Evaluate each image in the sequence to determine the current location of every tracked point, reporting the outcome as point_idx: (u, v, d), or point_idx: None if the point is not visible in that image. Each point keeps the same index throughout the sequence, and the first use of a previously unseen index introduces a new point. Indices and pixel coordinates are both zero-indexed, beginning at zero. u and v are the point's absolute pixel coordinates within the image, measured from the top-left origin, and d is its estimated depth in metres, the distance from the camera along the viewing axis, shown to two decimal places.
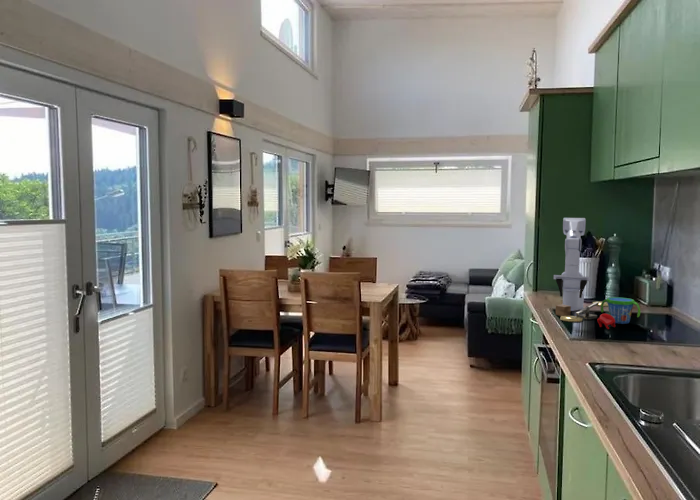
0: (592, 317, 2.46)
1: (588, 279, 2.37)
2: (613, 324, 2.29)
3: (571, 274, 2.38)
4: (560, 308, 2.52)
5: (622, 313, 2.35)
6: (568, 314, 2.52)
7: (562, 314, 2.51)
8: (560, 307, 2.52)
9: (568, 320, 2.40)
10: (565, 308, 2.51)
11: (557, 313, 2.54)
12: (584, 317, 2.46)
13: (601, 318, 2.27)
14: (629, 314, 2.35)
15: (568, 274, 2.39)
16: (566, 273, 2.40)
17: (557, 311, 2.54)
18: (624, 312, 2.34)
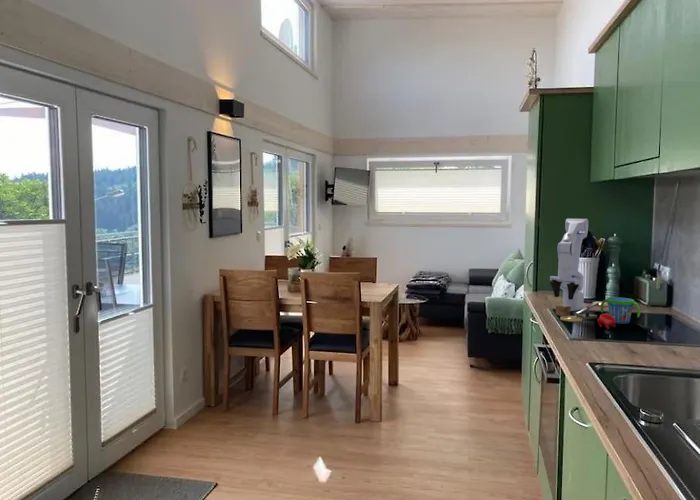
0: (592, 317, 2.46)
1: (575, 282, 2.46)
2: (613, 324, 2.29)
3: (560, 277, 2.51)
4: (560, 308, 2.52)
5: (622, 313, 2.35)
6: (568, 314, 2.52)
7: (562, 314, 2.51)
8: (560, 307, 2.52)
9: (568, 320, 2.40)
10: (565, 308, 2.51)
11: (557, 313, 2.54)
12: (584, 317, 2.46)
13: (601, 318, 2.27)
14: (629, 314, 2.35)
15: (558, 276, 2.52)
16: (558, 275, 2.53)
17: (557, 311, 2.54)
18: (624, 312, 2.34)
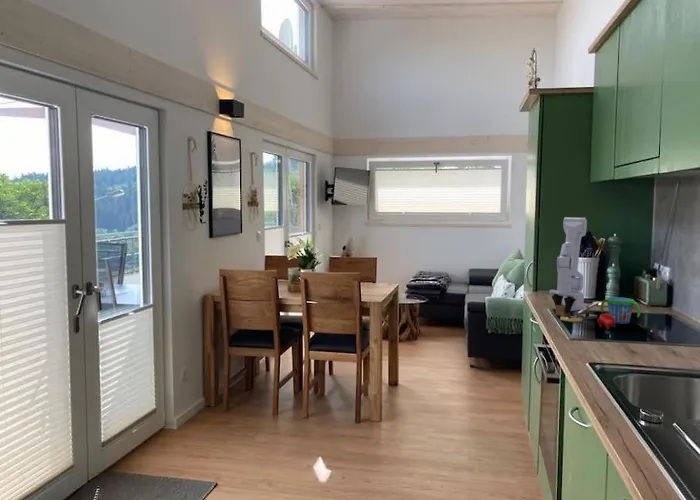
0: (592, 317, 2.46)
1: (574, 297, 2.47)
2: (613, 324, 2.29)
3: (559, 291, 2.51)
4: (560, 308, 2.52)
5: (622, 313, 2.35)
6: (568, 314, 2.52)
7: (562, 314, 2.51)
8: (560, 307, 2.52)
9: (568, 320, 2.40)
10: None
11: (557, 313, 2.54)
12: (584, 317, 2.46)
13: (601, 318, 2.27)
14: (629, 314, 2.35)
15: (558, 291, 2.53)
16: (557, 289, 2.54)
17: (557, 311, 2.54)
18: (624, 312, 2.34)
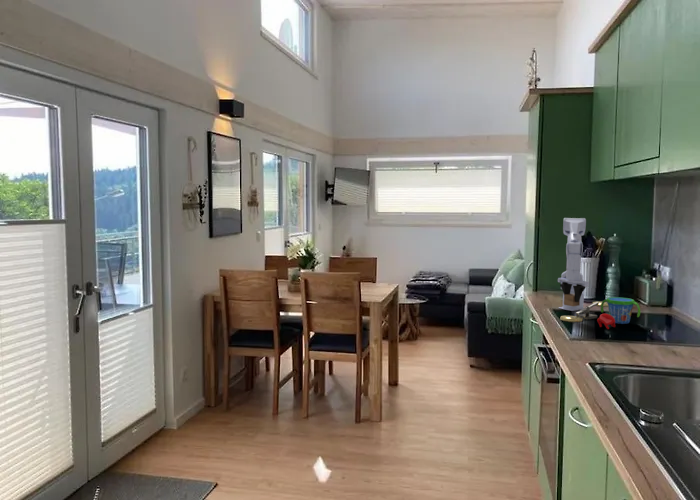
0: (592, 317, 2.46)
1: (584, 284, 2.36)
2: (613, 324, 2.29)
3: (568, 279, 2.40)
4: (569, 297, 2.41)
5: (622, 313, 2.35)
6: (577, 304, 2.41)
7: (571, 304, 2.40)
8: (569, 296, 2.41)
9: (568, 320, 2.40)
10: (574, 297, 2.40)
11: (566, 303, 2.43)
12: (584, 317, 2.46)
13: (601, 318, 2.27)
14: (629, 314, 2.35)
15: (566, 278, 2.42)
16: (566, 277, 2.43)
17: (566, 300, 2.43)
18: (624, 312, 2.34)
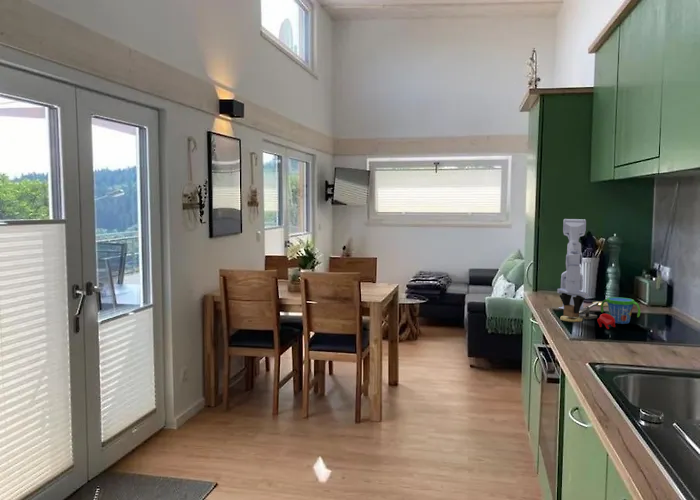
0: (592, 317, 2.46)
1: (584, 296, 2.36)
2: (613, 324, 2.29)
3: (568, 290, 2.41)
4: (568, 308, 2.41)
5: (622, 313, 2.35)
6: (577, 315, 2.42)
7: (570, 315, 2.41)
8: (568, 307, 2.41)
9: (568, 320, 2.40)
10: None
11: (565, 314, 2.43)
12: (584, 317, 2.46)
13: (601, 318, 2.27)
14: (629, 314, 2.35)
15: (566, 289, 2.42)
16: (565, 288, 2.43)
17: (565, 311, 2.43)
18: (624, 312, 2.34)
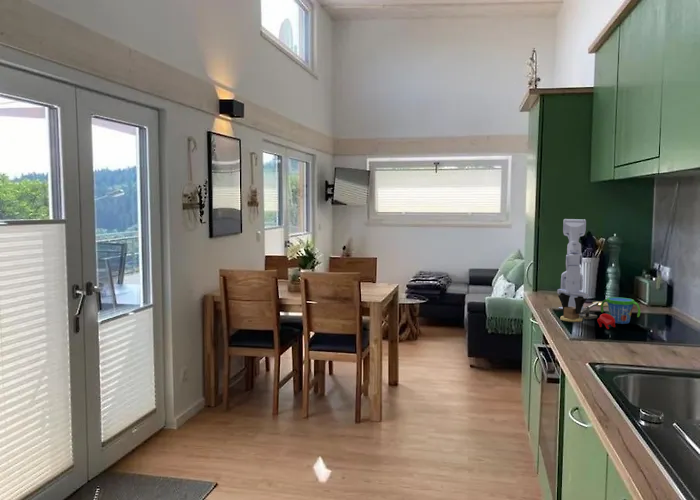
0: (592, 317, 2.46)
1: (584, 296, 2.36)
2: (613, 324, 2.29)
3: (568, 290, 2.41)
4: (568, 310, 2.42)
5: (622, 313, 2.35)
6: (577, 316, 2.42)
7: (570, 316, 2.41)
8: (568, 309, 2.41)
9: (568, 320, 2.40)
10: (574, 310, 2.40)
11: (565, 315, 2.43)
12: (584, 317, 2.46)
13: (601, 318, 2.27)
14: (629, 314, 2.35)
15: (566, 290, 2.42)
16: (565, 289, 2.43)
17: (565, 313, 2.43)
18: (624, 312, 2.34)
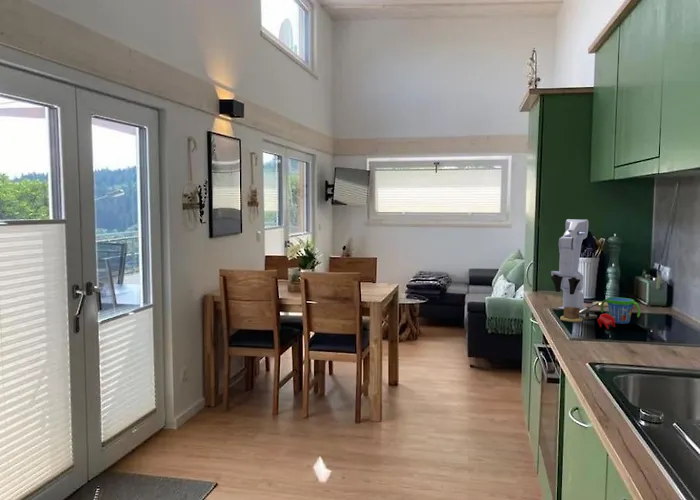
0: (592, 317, 2.46)
1: (576, 277, 2.46)
2: (613, 324, 2.29)
3: (561, 272, 2.51)
4: (568, 310, 2.42)
5: (622, 313, 2.35)
6: (577, 316, 2.42)
7: (570, 316, 2.41)
8: (568, 309, 2.41)
9: (568, 320, 2.40)
10: (574, 310, 2.40)
11: (565, 315, 2.43)
12: (584, 317, 2.46)
13: (601, 318, 2.27)
14: (629, 314, 2.35)
15: (559, 272, 2.52)
16: (559, 270, 2.53)
17: (565, 313, 2.43)
18: (624, 312, 2.34)
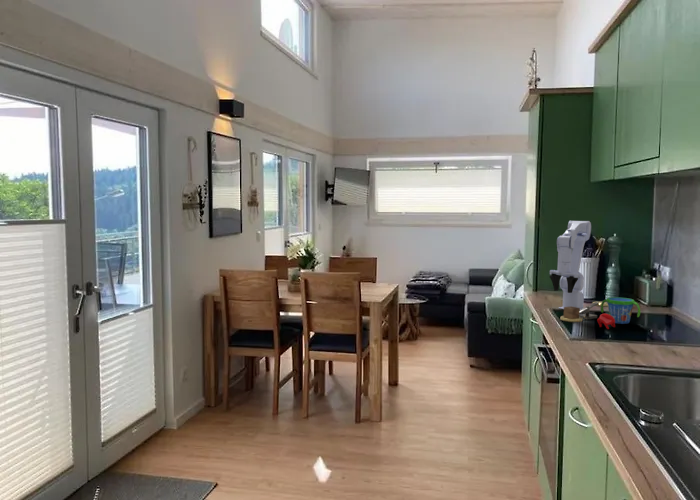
0: (592, 317, 2.46)
1: (574, 275, 2.48)
2: (613, 324, 2.29)
3: (559, 270, 2.53)
4: (568, 310, 2.42)
5: (622, 313, 2.35)
6: (577, 316, 2.42)
7: (570, 316, 2.41)
8: (568, 309, 2.41)
9: (568, 320, 2.40)
10: (574, 310, 2.40)
11: (565, 315, 2.43)
12: (584, 317, 2.46)
13: (601, 318, 2.27)
14: (629, 314, 2.35)
15: (558, 270, 2.54)
16: (557, 269, 2.55)
17: (565, 313, 2.43)
18: (624, 312, 2.34)
